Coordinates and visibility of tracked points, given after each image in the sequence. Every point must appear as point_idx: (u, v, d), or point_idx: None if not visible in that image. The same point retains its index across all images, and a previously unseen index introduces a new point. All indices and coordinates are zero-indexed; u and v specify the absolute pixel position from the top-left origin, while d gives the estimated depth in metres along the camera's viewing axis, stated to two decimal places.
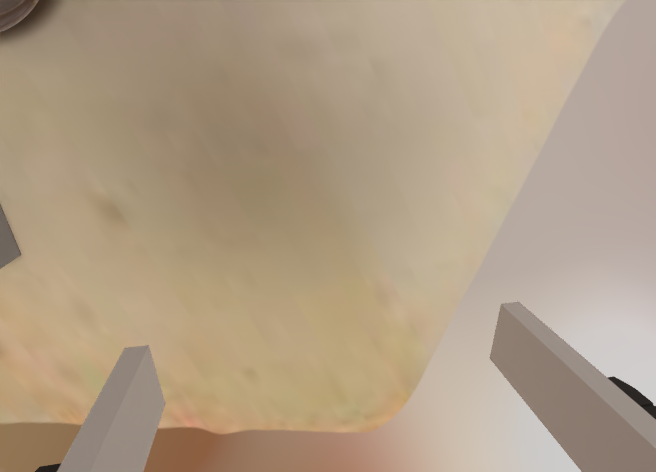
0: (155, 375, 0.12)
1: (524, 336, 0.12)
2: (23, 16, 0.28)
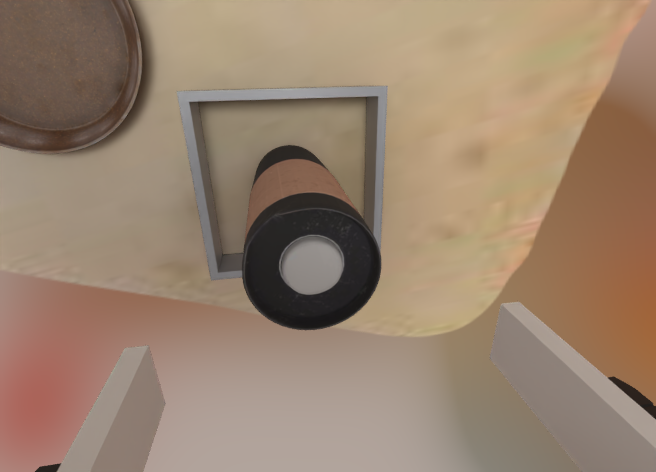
0: (155, 375, 0.12)
1: (525, 337, 0.12)
2: None
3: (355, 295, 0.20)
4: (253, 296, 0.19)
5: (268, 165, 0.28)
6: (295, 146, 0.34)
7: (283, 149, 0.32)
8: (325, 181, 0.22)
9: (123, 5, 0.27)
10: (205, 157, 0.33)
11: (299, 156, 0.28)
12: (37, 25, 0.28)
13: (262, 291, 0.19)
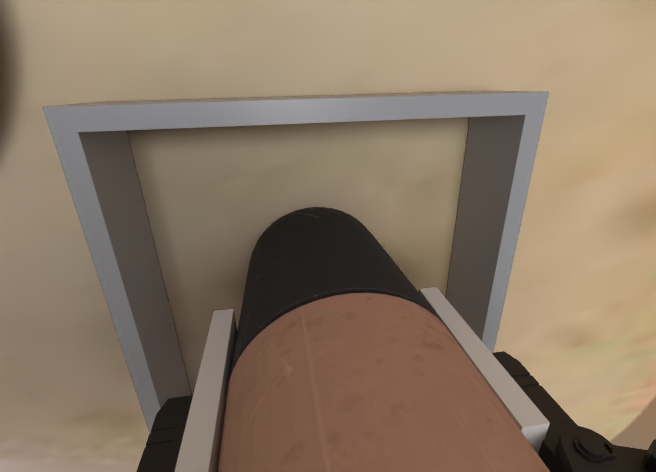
0: None
1: None
2: None
3: None
4: None
5: (277, 299, 0.11)
6: (328, 211, 0.17)
7: (307, 226, 0.15)
8: None
9: None
10: (145, 237, 0.16)
11: (355, 271, 0.11)
12: None
13: None
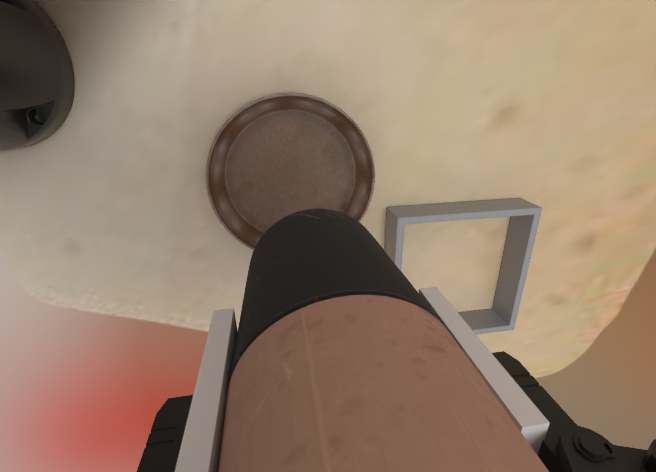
0: None
1: None
2: (361, 131, 0.36)
3: None
4: None
5: (277, 301, 0.11)
6: (328, 212, 0.17)
7: (307, 227, 0.15)
8: None
9: (364, 156, 0.38)
10: None
11: (356, 273, 0.11)
12: (298, 170, 0.38)
13: None
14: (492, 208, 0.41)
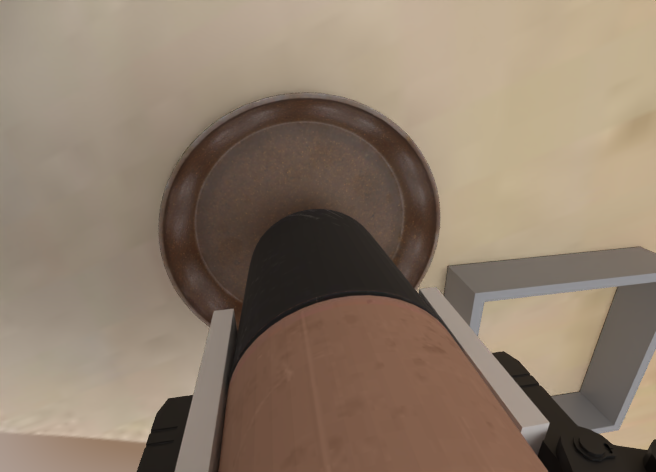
0: None
1: None
2: (422, 156, 0.21)
3: None
4: None
5: (277, 301, 0.11)
6: (328, 213, 0.17)
7: (307, 227, 0.15)
8: None
9: (422, 195, 0.23)
10: None
11: (356, 274, 0.11)
12: None
13: None
14: (614, 270, 0.26)
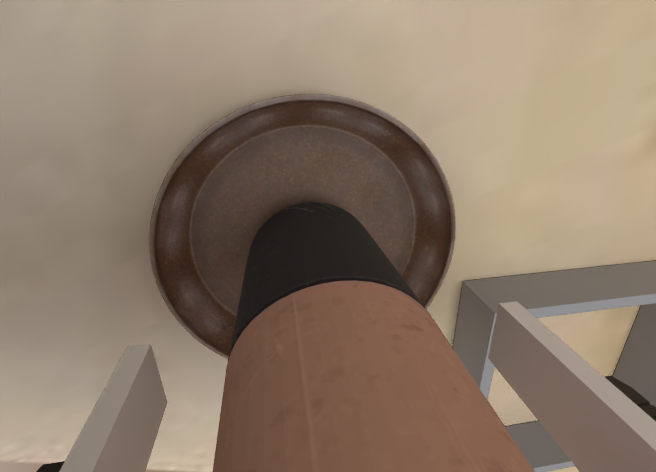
0: (157, 374, 0.12)
1: (522, 336, 0.12)
2: (436, 162, 0.19)
3: None
4: None
5: (271, 287, 0.12)
6: (323, 206, 0.18)
7: (301, 219, 0.16)
8: None
9: (436, 204, 0.21)
10: None
11: (345, 261, 0.12)
12: None
13: None
14: (644, 286, 0.24)
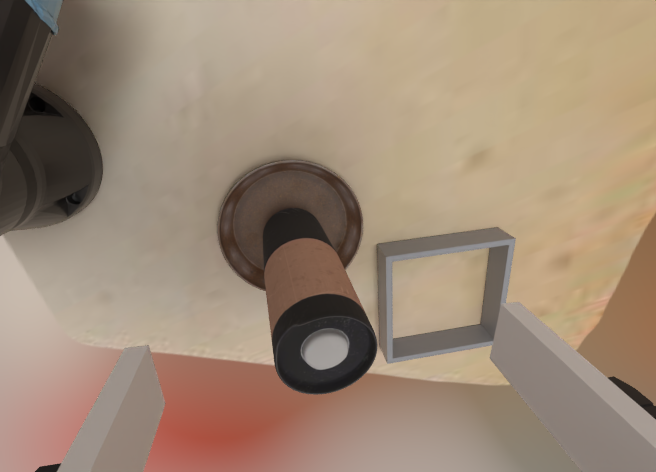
0: (155, 375, 0.12)
1: (525, 336, 0.12)
2: (347, 185, 0.41)
3: (360, 361, 0.27)
4: (285, 378, 0.25)
5: (275, 244, 0.33)
6: (293, 209, 0.40)
7: (284, 218, 0.38)
8: (326, 271, 0.28)
9: (352, 204, 0.43)
10: None
11: (300, 232, 0.34)
12: None
13: (290, 371, 0.25)
14: (470, 241, 0.46)
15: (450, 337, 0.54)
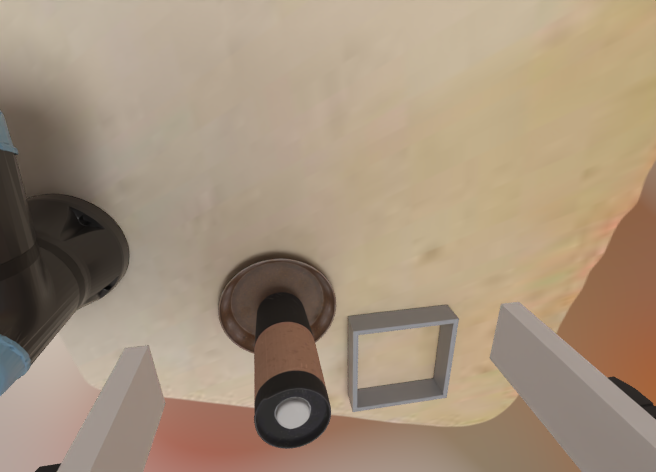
0: (155, 375, 0.12)
1: (525, 336, 0.12)
2: (324, 276, 0.52)
3: (322, 418, 0.35)
4: (266, 438, 0.34)
5: (260, 329, 0.44)
6: (277, 294, 0.50)
7: (269, 303, 0.48)
8: (291, 351, 0.38)
9: (328, 288, 0.54)
10: None
11: (278, 317, 0.44)
12: None
13: (270, 432, 0.35)
14: (423, 319, 0.57)
15: (407, 389, 0.64)
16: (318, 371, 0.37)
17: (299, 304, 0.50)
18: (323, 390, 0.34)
